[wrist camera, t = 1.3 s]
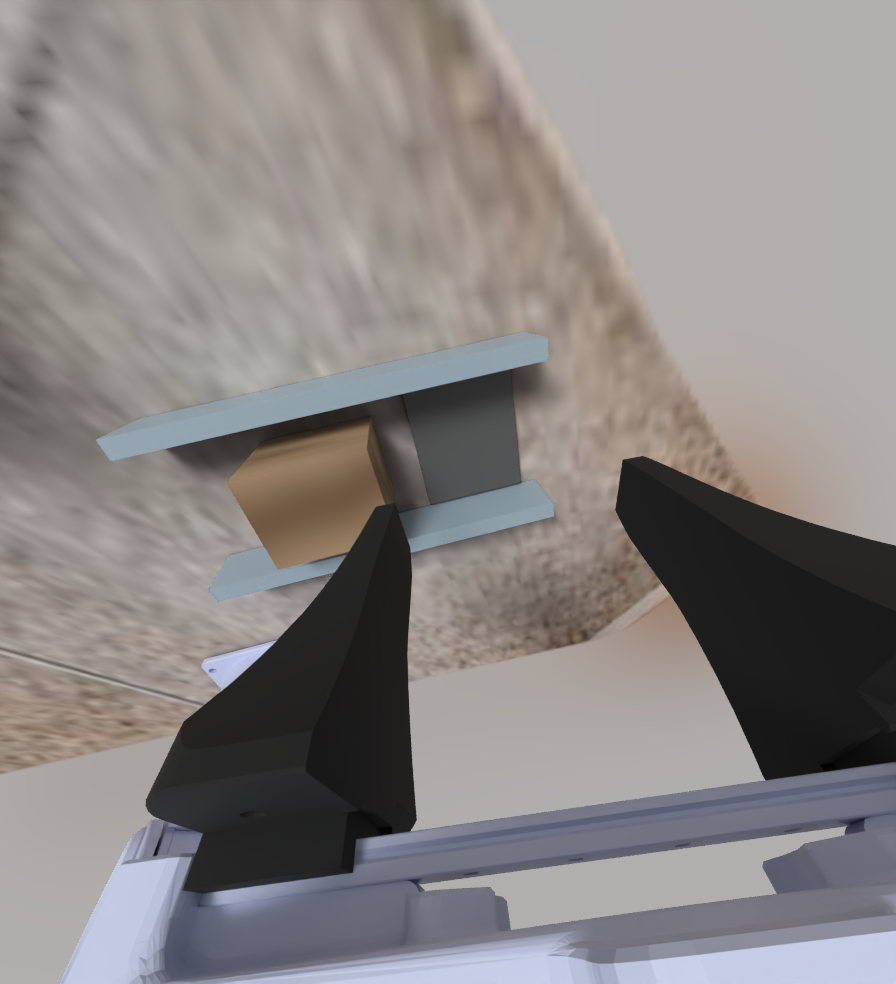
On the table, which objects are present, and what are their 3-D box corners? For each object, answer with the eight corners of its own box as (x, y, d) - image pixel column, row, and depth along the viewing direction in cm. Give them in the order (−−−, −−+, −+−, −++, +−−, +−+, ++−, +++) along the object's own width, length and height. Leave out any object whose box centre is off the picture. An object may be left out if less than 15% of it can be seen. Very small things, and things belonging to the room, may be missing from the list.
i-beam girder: (535, 492, 23) (554, 516, 21) (236, 566, 22) (217, 602, 20) (524, 331, 18) (547, 337, 16) (138, 418, 17) (95, 440, 15)
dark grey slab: (519, 480, 23) (520, 482, 22) (429, 502, 22) (430, 505, 22) (508, 359, 19) (509, 360, 19) (399, 384, 18) (400, 385, 18)
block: (394, 491, 22) (396, 539, 17) (299, 515, 21) (277, 569, 17) (370, 415, 19) (366, 449, 15) (262, 440, 19) (226, 482, 15)
